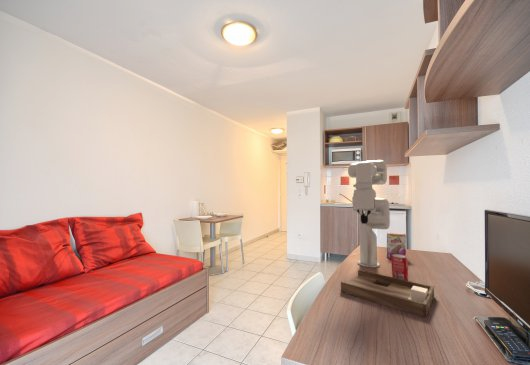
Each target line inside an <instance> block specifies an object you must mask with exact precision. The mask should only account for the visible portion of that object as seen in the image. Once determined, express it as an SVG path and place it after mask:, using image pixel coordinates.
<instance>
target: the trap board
mask: <svg viewBox="0 0 530 365" xmlns="http://www.w3.org/2000/svg"><path fill="white" fill-rule="evenodd" d="M413 286H418V287H422V288H426V289H428V294H427V296H426V298H425V300H424V302H419V301H415V300H412V299H411V288H412V287H413ZM340 292H341V293H343V294H346V295H350V296H353V297H357V298H360V299H363V300H366V301H371V302H374V303H376V304H381V305H383V306H387V307H389V308H393V309H397V310H401V311H404V312H407V313H410V314H413V315H416V314H417V316H420V317H423V318H427V317H428V313H429V311H430V308H431V306H432V303H433V300H434V298H435V286H433V285H428V284H423V283H420V282H416V281H415V282H414V281H411V280H408V281H407V280H402V279H398V278H393V277H392V276H387V275H384V274H380V273H374V272H370V271H366V270H361V269H358V270H357V275H356V276H355V277H353V278H352V279H351V280H349V281H348V282H346V281H341V282H340Z"/></svg>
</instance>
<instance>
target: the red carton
mask: <svg viewBox="0 0 530 365" xmlns="http://www.w3.org/2000/svg"><path fill="white" fill-rule="evenodd" d="M391 277H393V278H398V279H402V280H407V281H409V261H408V258H407V255H406V256H405V255H401V254H393V255H392V258H391Z"/></svg>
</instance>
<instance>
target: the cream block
mask: <svg viewBox="0 0 530 365" xmlns="http://www.w3.org/2000/svg"><path fill="white" fill-rule="evenodd" d="M427 294H428V289H426V288H422V287H418V286H413V287H412V288H411V299H412V300H415V301H419V302H424V300H425V298H426V296H427Z"/></svg>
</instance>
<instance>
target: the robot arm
mask: <svg viewBox="0 0 530 365" xmlns="http://www.w3.org/2000/svg"><path fill="white" fill-rule="evenodd" d="M347 174H348V176H349V177H350V178H354V179H355V184H353V188H355V189H354V190H353V196H352V208H353V212H357V213H358V214H359V215H358V217H357V220H358V226H359V227H358V228H359V259H358V260H357V264H358V265H359V266H361V267H365V268H379V267H380V266H381V264H380V262H378V240H377V239H378V238H377V237H378V236H377V233H376V232H374V230H388V229H389V228H390V226H391V216H390V214H391V213H390V202H389V200H388V199H387V198H385V197H383V198H381V197H377V192H376V190H375V189H374V188H373V185H375V186H379V185H380V186H381V185H385V184H386V183H387V180H388V167H387V164H386V162H385V161H384V160H383V159H377V160H375V159H373V160H365V161H360V162H354V163H350V164H349V166H348V168H347Z"/></svg>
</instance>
